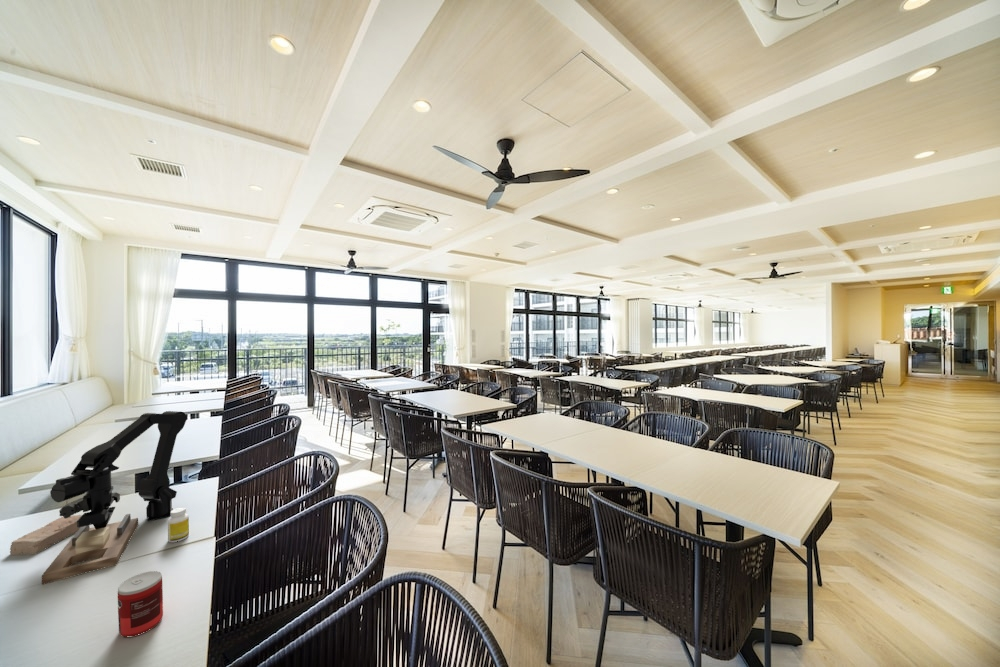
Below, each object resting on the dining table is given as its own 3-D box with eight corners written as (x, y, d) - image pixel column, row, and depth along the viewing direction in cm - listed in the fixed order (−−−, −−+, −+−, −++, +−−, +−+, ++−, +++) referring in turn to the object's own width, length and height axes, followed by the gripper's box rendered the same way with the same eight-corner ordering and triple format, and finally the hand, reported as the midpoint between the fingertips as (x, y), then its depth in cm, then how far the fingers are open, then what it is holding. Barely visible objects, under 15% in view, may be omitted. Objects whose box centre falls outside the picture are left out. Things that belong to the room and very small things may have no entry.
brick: (37, 554, 118) (36, 540, 118) (7, 556, 118) (7, 541, 117) (89, 526, 135) (89, 514, 135) (64, 528, 134) (63, 515, 134)
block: (109, 538, 122) (109, 526, 122) (103, 547, 117) (103, 534, 117) (83, 544, 119) (82, 532, 119) (76, 554, 114) (75, 541, 114)
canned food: (138, 614, 94) (136, 571, 93) (171, 612, 94) (170, 569, 94) (108, 640, 86) (107, 593, 86) (145, 637, 87) (144, 591, 86)
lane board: (138, 524, 136) (137, 510, 135) (116, 564, 113) (116, 548, 113) (78, 538, 127) (77, 523, 127) (41, 584, 104) (41, 567, 104)
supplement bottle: (192, 536, 128) (191, 508, 128) (173, 544, 123) (172, 515, 123) (183, 532, 130) (183, 504, 130) (164, 540, 125) (163, 512, 125)
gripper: (73, 483, 126) (75, 528, 127) (50, 506, 111) (52, 557, 111) (119, 475, 132) (121, 518, 133) (103, 496, 117) (105, 544, 118)
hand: (101, 533), depth 124 cm, fingers closed
